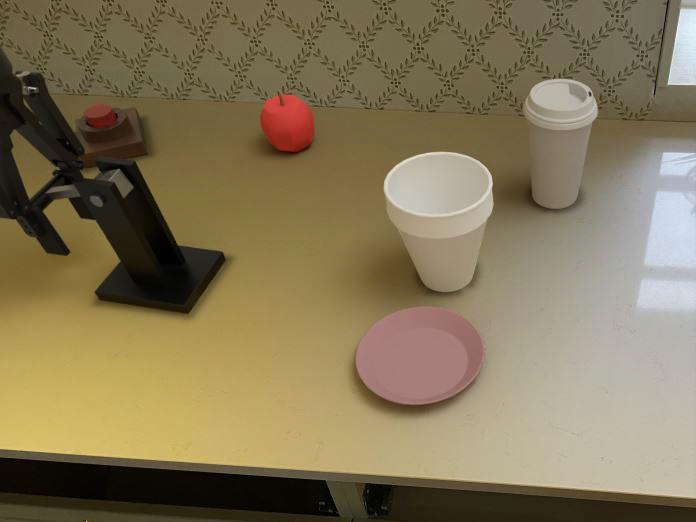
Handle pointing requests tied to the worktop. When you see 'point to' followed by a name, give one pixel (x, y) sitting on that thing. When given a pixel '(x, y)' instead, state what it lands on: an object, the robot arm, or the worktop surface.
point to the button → (100, 115)
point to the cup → (440, 214)
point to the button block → (112, 137)
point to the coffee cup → (558, 139)
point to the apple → (287, 123)
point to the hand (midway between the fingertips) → (75, 234)
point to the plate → (420, 355)
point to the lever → (62, 188)
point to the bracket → (144, 245)
